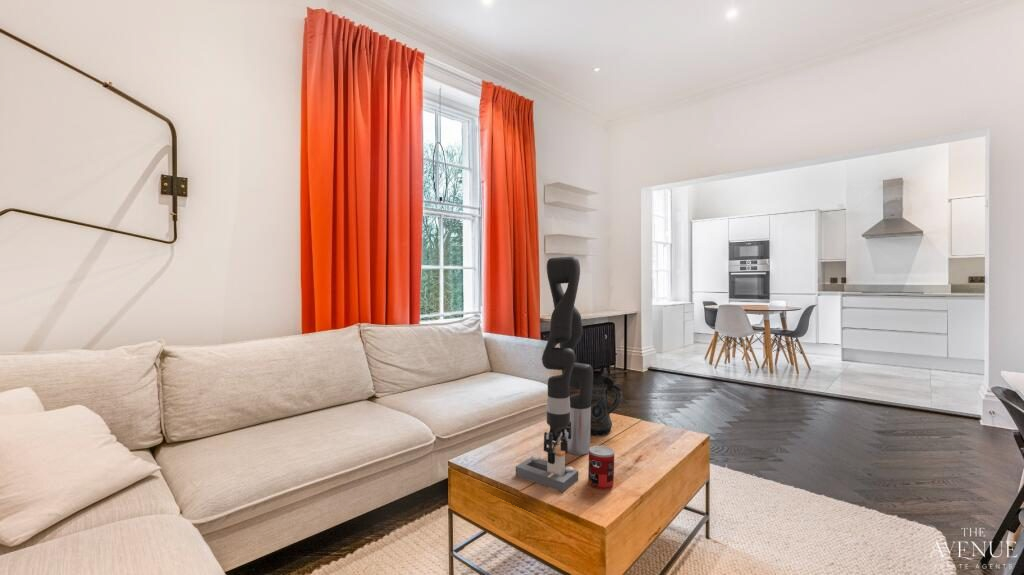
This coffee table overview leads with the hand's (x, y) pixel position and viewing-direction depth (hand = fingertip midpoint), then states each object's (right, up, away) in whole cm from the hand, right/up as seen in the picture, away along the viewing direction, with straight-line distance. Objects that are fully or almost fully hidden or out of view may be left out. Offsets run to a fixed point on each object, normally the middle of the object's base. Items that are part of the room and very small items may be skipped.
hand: (557, 458), depth 139 cm
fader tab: (-1, -7, 0) cm, 7 cm away
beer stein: (+22, -6, +47) cm, 52 cm away
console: (-3, -7, +2) cm, 8 cm away
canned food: (+14, -8, -2) cm, 16 cm away
